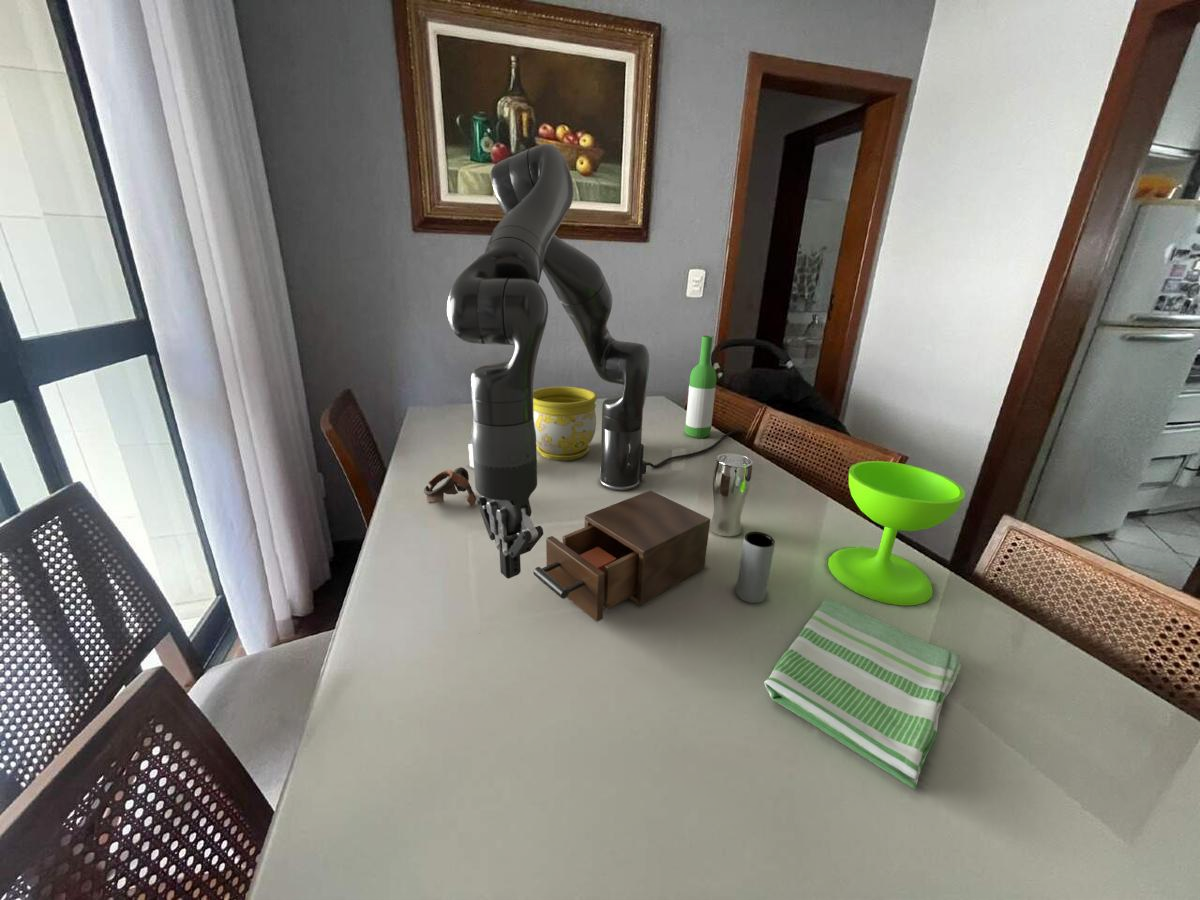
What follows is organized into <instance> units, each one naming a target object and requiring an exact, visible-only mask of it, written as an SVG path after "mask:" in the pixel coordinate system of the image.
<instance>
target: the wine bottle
mask: <svg viewBox="0 0 1200 900" xmlns="http://www.w3.org/2000/svg"><path fill="white" fill-rule="evenodd" d="M712 347H713V336H712V335H703V336H701V345H700V355H699V362H698V364H697V365H695V366H694V367H693V368H692V370H691V372H690V375H689V384H688V385H689V386H688V396H687V404H686V405H687V407H686V416H685V427H684V428H685V429H684V431H685V434H686V435H687V436H689V437H691V438H695V439H705V438H708V437H709V436H710V435H711V433H712V424H713V414H714V405H715V396H716V388H717V387H716V386H717V372H716V370H715V368H714V366H712V365H711V358H712V357H711V356H712V349H713V348H712Z"/></svg>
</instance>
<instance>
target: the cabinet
mask: <svg viewBox="0 0 1200 900" xmlns="http://www.w3.org/2000/svg"><path fill="white" fill-rule="evenodd" d="M710 523H711V518H710V517H707V516H706V515H703V514H701V513H700V512H697V511H695V510H693V509H691V508H689V507H687V506H684V505H682V504H680V503H678V502H676V501H674V500H672V499H670V498H668V497H666V496H664V495H661V494H659V493H657V492H656V491H653V490H651V489H650V490H648V491H645V492H642V493H639V494H637V495H634V496H632V497H629V498H627V499H624V500H622V501H619V502H616V503H614V504H610V505H608V506H606V507H603V508H600V509H598V510H595V511H593V512H590V513H588V514H585V515H584V527H587V526H589V525H594V526H595V527H597V528H598V529H600V530H602V531H603V532H605V533H606V534H608V535H610V536H611V537H613V538H614V539H616V540H618V541H619V542H621V543H622V544H624V545H626V546H627V547H629V548H630V549H632V550H634V551H635V552H637V553H638V554H639V567H638V582H637V593H636V594H634V595H632V596H630V597H629V598H628V599H630V600H631V601H632V602H634V603H635V604H637V606H639V607H641V606H643V605H645V604H646V603H649V602H650V601H651V600H653V599H655V598H657V597H658V596H660V595H662V594H663V593H665V592H667V591H669V590H670V589H672V588H674V587H675V586H677V585H679V584H681V583H682V582H684V581H685V580H687V579H689V578H691V577H693V576H694V575H696V574H698V573H700V572H701V571H703V570H705V569H706V568H705V566H706V558H707V551H708V542H709V535H710Z"/></svg>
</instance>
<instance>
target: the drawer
mask: <svg viewBox="0 0 1200 900" xmlns="http://www.w3.org/2000/svg"><path fill="white" fill-rule="evenodd" d="M545 543H546V544H545V545H546V546H545V548H546V549H545V552H546V554H545V555H546V566H544V567H540V566H536V567H535V568H534V570H533V576H535V577H536V578H537V579H538V580H540V581H541V582H542V583H543V584H544V585H546V586H547V587H548V588H549V589H550V590H551V591H552V592H553V593H555V594H556V595H557V596H558V597H559V598H561V599H562V600H563V599H566V598H568V599H569V600H570V601H571V602H573V603H574V605H576V607H578V608H579V609H581V610H582V611H583V612H584V613H585V614H587V615H588V616H589V617H590V618H591V619H592V620H593V621H595V622H596V623H598V622H600V621H601V620H603V619H604V609H606V610H609V609H611V608H612V607H615V606H616V605H618V604H619V603H622V602H623V601H625V600H627V599H630V598H629V597H630V596H632V595H634V594H636V593H637V582H638V567H639V554H638V553H637V552H635V551H634V550H632V549H630V548H629V547H627V546H626V545H624V544H622V543H621V542H619V541H618V540H616V539H614V538H613V537H611V536H610V535H608V534H606V533H605V532H603V531H602V530H600V529H598V528H597V527H595V526H594V525H589V526H587V527H585V526H584V527H583V528H580V529H577V530H575V531H572V532H570V533H567V534H564V535H563V536H562V541H560V540H559V539H557V538H556V537H555V536H553V535H551V536H549V537H548V536H547V537H546V538H545ZM596 547H600V548H601V549H603V550H604V551H606V552H607V553H609V554H610V555H612V556H613V557H615V558H616V561H614V562H612V563H610V564H608V565H606V566H605V573H604V572H602V571H601V570H599V569H598V568H597V567H595V566H594V565H592V564H591V563H590V562H588V561H587V560H585V559H584V558H583V557H581V556H580V555H581V554H583V553H585V552H587V551H589V550H592V549H594V548H596ZM604 576H605V582H604Z"/></svg>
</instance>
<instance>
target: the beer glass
mask: <svg viewBox="0 0 1200 900" xmlns="http://www.w3.org/2000/svg"><path fill="white" fill-rule="evenodd" d="M753 463H754V462H753V460H752V458H750V457H748V456H745V455H743V454H739V453H729V452H728V453H722V454H719V455H717V456H716V462H715V466H714V471H713V476H712V496H713V513H712V517H711V519H710V526H709V530H711V532H712V533H714V534H716V535H718V536H721V537H726V538H727V537H728V538H729V537H737V536H738V535H740V534H741V532H742V523H741V521H742V514H743V509H744V507H745V504H746V502H747V498H748V496H749V492H750V488H751V483H752V474H753Z"/></svg>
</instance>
